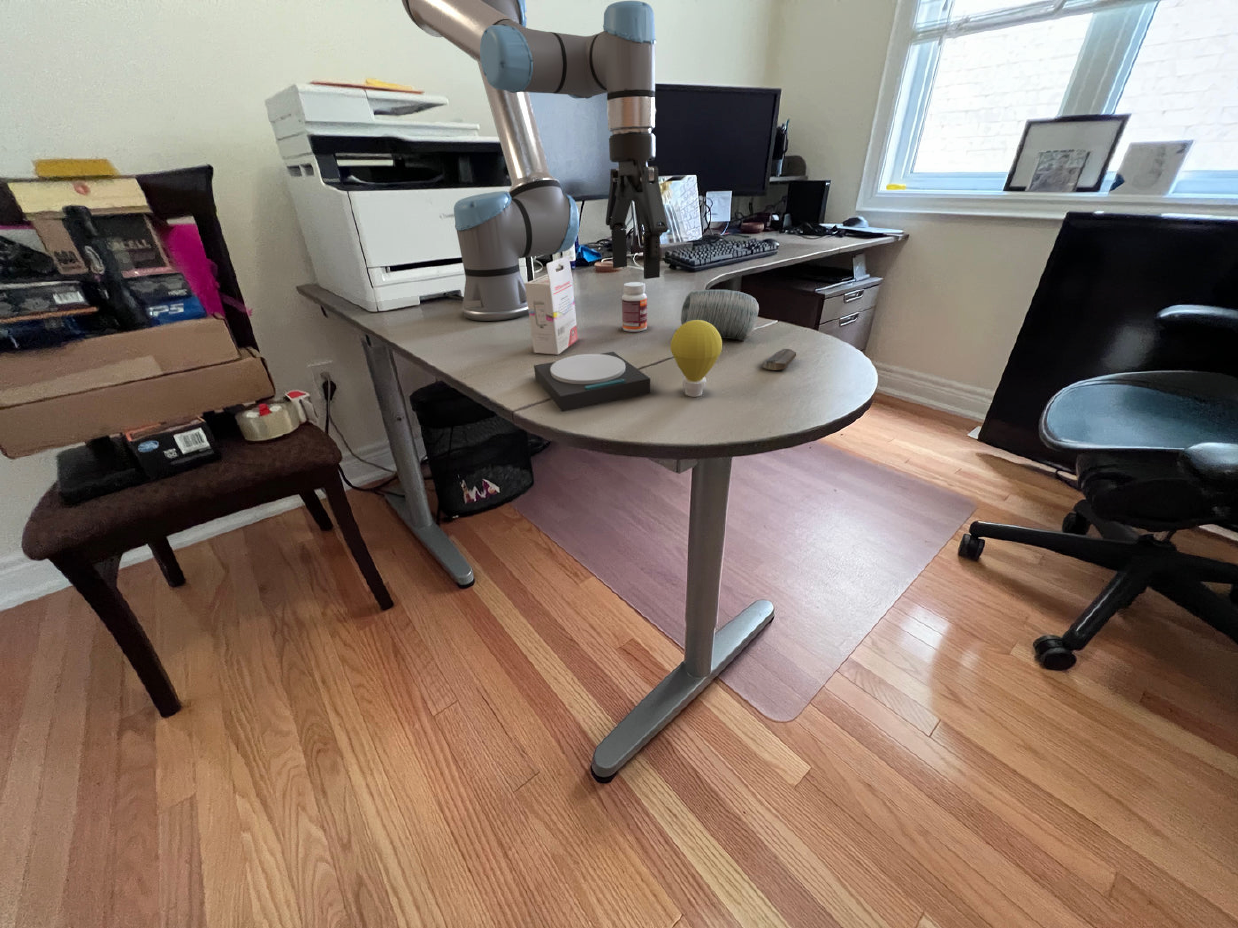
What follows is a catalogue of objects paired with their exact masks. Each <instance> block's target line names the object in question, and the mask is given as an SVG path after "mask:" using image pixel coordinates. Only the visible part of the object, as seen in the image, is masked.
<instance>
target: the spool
mask: <svg viewBox="0 0 1238 928" xmlns="http://www.w3.org/2000/svg"><path fill="white" fill-rule="evenodd" d="M759 310H760V307H759V303H758V302H757V299H756V298H755V297H753V296H752V295H750V294H747V293H744V292H741V291H737V290H729V289H700V290H693V291H690V292H689V293H688V294H687V295H686V297H685V298H684V301H683V304H682V308H681V314H680V323H681V325H683V324H684V323H686V322H688V321H692V320H703V321H706V322H708V323H710V324H712V325H713V326H714V327H715V328H716V329H717V331H718V332H719V334H720V336H721V339H731V340H740V341H743V340H746V339H748V338H749V337H750V336H751V335H752V333H753V332H754V330H755V327H756V324H757V321H758V317H759V316H758V315H759Z"/></svg>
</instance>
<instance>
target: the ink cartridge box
mask: <svg viewBox="0 0 1238 928" xmlns="http://www.w3.org/2000/svg"><path fill="white" fill-rule="evenodd" d="M570 261H571V260H570V256H569V255H565V256H563V257H559V258H557V259H554V260H552V261H550V262H547V263H546V271H547V273H546V274H544V275H541V276H539V277H536V278H534V279H532V280H530V281H526V282H524V285H525V291H526V297H527V305H528V311H529V314H528V317H529V324H530V332H531V337H532V339H531V340H532V346H533V353H534V354H545V355H546V354H547V355H556V356H557V355H560V354H561V353H563V352H564V351H565V350H567V349H568V348H569V347H571V346H572V345H573V344H575V343H576V342H577V341H578V326H577V315H576V304H575V302H576V301H575V294H574V293H575V291H574V279H573V273H572V267H571V262H570ZM559 266H560V267H562V269H561V270H559V271H557V268H559Z"/></svg>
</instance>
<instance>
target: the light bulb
mask: <svg viewBox="0 0 1238 928" xmlns="http://www.w3.org/2000/svg"><path fill="white" fill-rule="evenodd" d="M722 349H723V338H722V337H721V336H720V334H719V332H718V331H717V329H716V328H715V327H714V326H713V325H712V324H710V323H708V322H706V321H703V320H692V321H688V322H686V323H684V324H683V325H682V324H681V325H680V326H679V327H678V328H677V329H676V330H675V331H674V334H673V335H672V337H671V341H670V351H671V352H670V353H671V354H672V357H673V358H674V361H675V363H676V366H677V367H678V368H679V370H680V371H681V373H682V374H683V376H684V377H682V381H681V383H682V385H681V386H682V388H683V389H685V390H684V394H685V395H686V396H688V397H692V398H693V397H695V398H697V397H700V396H702V395H703V389H705V388H706V387H707V378H706V377H705V376H706V375H707V374H708V373H709V371H711V369H712V368H713V366H714V365H715V364H716V362H717V360H718V358H719V357H720V355H721V353H722Z"/></svg>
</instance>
